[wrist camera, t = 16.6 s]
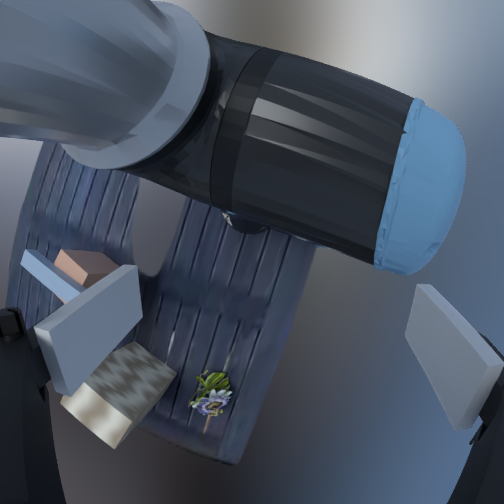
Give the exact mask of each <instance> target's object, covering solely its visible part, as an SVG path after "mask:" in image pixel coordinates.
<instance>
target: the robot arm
mask: <svg viewBox="0 0 504 504" xmlns="http://www.w3.org/2000/svg"><path fill="white" fill-rule="evenodd" d="M0 137H8V138H18V139H28V140H37V141H46V142H54V143H61V145H62V147H63V148H64V149H65V151H66V152H67V153H68V154H69V155H70V156H71V157H72V158H74V159H75V160H76V161H78V162H80V163H81V164H83V165H86V166H89V167H92V168H97V169H109V170H119V171H123V172H126V173H129V174H132V175H135V176H138V177H141V178H145V179H147V180H150V181H152V182H155V183H157V184H159V185H162V186H164V187H166V188H169V189H171V190H173V191H176V192H178V193H181V194H183V195H185V196H188V197H190V198H192V199H195V200H197V201H199V202H202V203H205V204H208V205H211V206H214V207H217V208H220V209H221V212H222V215H223V217H224V219H225V220H226V222H227V223H228V224H229V225H230V226H231V227H232V228H234V229H235V230H237V231H239V232H242V233H246V234H256V233H260V232H262V231H265V230H266V229H268V228H270V229H273V230H276V231H279V232H281V233H284V234H287V235H290V236H292V237H295V238H298V239H301V240H303V241H306V242H309V243H311V244H313V245H315V246H317V247H323V248H329V249H332V250H335V251H337V252H340V253H343V254H345V255H348V256H350V257H353V258H356V259H359V260H361V261H363V262H366V263H369V264H371V265H374V268H376V269H377V270H379V271H382V270H388V271H391V272H394V273H397V274H400V275H410V274H413V273H416V272H417V271H419V270H420V269H422V268H423V267H424V266H425V265H426V264H427V263H428V262H429V261H430V260H431V259H432V258H433V256H434V255H435V253H436V252H437V250H438V248H439V247H440V245H441V244H442V243H443V241H444V239H445V237H446V235H447V234H448V232H449V230H450V227H451V225H452V223H453V220H454V218H455V215H456V213H457V210H458V207H459V204H460V200H461V196H462V192H463V187H464V182H465V174H466V149H465V144H464V141H463V138H462V136H461V133H460V131H459V130H458V128H457V126H456V125H455V124H454V123H453V122H452V121H451V120H450V119H448V118H447V117H445V116H443V115H442V114H440V113H438V112H437V111H435V110H433V109H432V108H430V107H428V106H426V105H425V103H424V101H423V100H421V99H419V98H415V99H414V98H412V97H410V96H408V95H406V94H404V93H401V92H399V91H397V90H394V89H392V88H390V87H387V86H385V85H383V84H380V83H378V82H375V81H373V80H370V79H368V78H365V77H362V76H359V75H357V74H354V73H351V72H348V71H345V70H342V69H340V68H337V67H333V66H330V65H327V64H324V63H321V62H318V61H314V60H311V59H308V58H305V57H302V56H298V55H294V54H291V53H287V52H282V51H278V50H274V49H270V48H266V47H262V46H258V45H254V44H249V43H245V42H240V41H236V40H232V39H229V38H225V37H221V36H217V35H215V34H212V33H210V32H207V31H205V30H204V29H202V27H201V25H200V24H199V23H198V21H197V20H196V19H195V18H194V17H193V16H192V15H191V14H190V13H189V12H188V11H186V10H185V9H183V8H181V7H179V6H177V5H174V4H171V3H167V2H160V1H151V0H0ZM142 317H143V315H142V307H141V299H140V290H139V280H138V269H137V266H135V265H122V266H121V267H119V268H118V269H116V270H115V271H113V272H112V273H110V274H109V275H107V276H106V277H104V278H103V279H101V280H100V281H98V282H97V283H95V284H94V285H92V286H91V287H89V288H88V289H86V290H85V291H83V292H82V293H80V294H79V295H77V296H76V297H75V298H73V299H72V300H70V301H69V302H67V303H66V304H65V305H63V306H61V307H59V308H57V309H56V310H55V311H53V312H52V314H49V315H48V316H46V318H43V319H42V320H41V321H39V322H38V323H37V324H35V325H34V326H32V327H31V328H30V329H28V330H26V326H25V323H24V319H23V316H22V312H21V310H20V309H19V308H15V307H10V308H5V309H1V310H0V504H66V500H65V497H64V492H63V489H62V484H61V479H60V474H59V470H58V464H57V459H56V453H55V447H54V440H53V433H52V426H51V416H50V406H49V392H48V389H47V387H46V383H47V382H48V381H49V380H50V379H51V381H52V383H53V385H54V388H55V391H56V392H59V393H61V394H64V395H66V396H69V397H72V396H73V394H74V393H75V392H76V391H77V390H78V389H79V387H80V386H81V385H82V384H83V383H84V382H85V381H86V379H87V378H88V377H89V376H90V375H91V374H92V373H93V371H94V370H95V369H96V368H97V367H98V366H99V365H100V364H101V362H102V361H103V360H104V359H105V358H106V357H107V356H108V355H109V353H110V352H111V351H112V350H113V349H114V348H115V347H116V346H117V345H118V343H119V342H120V341H121V340H122V339H123V338H124V337H125V336H126V335H127V334H128V332H129V331H130V330H131V329H132V328H133V327H134V326H135V325H136V324H137V323H138V322H139V320H140V319H141V318H142ZM404 336H405V338H406V340H407V341H408V343H409V345H410V346H411V348H412V350H413V352H414V354H415V356H416V357H417V359H418V361H419V363H420V365H421V366H422V368H423V370H424V372H425V374H426V376H427V377H428V379H429V381H430V383H431V385H432V387H433V389H434V391H435V393H436V395H437V397H438V399H439V401H440V403H441V405H442V407H443V409H444V411H445V413H446V414H447V417H448V419H449V421H450V423H451V425H452V427H453V429H454V431H459V430H463V429H468V428H471V427H472V426H473V424H474V422H475V421H476V419H477V417H478V416H480V417H481V419H482V421H483V423H482V424H481V426H480V427H479V429H478V431H477V432H476V434H475V435H474V437H473V439H472V440H471V441H470V443H469V444H470V445H471V444H472V443H473V442H474V443H473V446H472V449H471V451H470V454H469V456H468V459H467V461H466V464H465V466H464V468H463V471H462V473H461V476H460V478H459V480H458V482H457V484H456V487H455V489H454V491H453V493H452V495H451V497H450V499H449V501H448V503H447V504H504V356H503V355H502V354H501V353H500V352H499V351H497V349H496V347H495V346H493V345H492V343H491V342H490V341H489V340H488V339H487V338H486V337H485V336H483V335H482V334H480V333H479V332H477V331H476V330H475V329H474V328H473V327H472V326H471V325H470V324H469V323H468V322H467V321H466V320H465V319H464V318H463V316H462V315H461V314H460V313H459V312H458V311H457V310H456V309H455V308H454V307H453V306H452V305H451V304H450V303H449V302H448V301H447V300H446V299H445V298H444V297H443V296H442V295H441V294H440V293H439V292H437V290H436V289H435V288H434V287H433V286H432V285H430V284H417V285H416V290H415V295H414V299H413V303H412V308H411V312H410V316H409V320H408V324H407V328H406V331H405V335H404Z"/></svg>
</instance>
